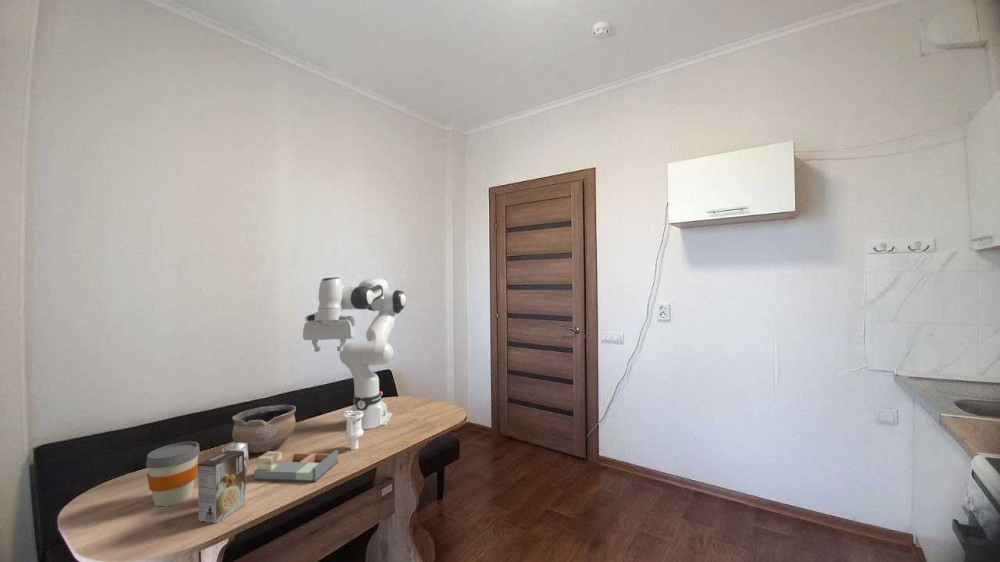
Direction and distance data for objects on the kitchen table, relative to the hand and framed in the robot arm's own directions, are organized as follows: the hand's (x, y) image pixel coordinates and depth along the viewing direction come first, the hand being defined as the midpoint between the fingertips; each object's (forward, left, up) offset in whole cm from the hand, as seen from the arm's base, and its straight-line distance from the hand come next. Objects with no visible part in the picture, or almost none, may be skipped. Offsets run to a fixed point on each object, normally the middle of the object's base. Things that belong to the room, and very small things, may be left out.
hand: (328, 351), depth 147 cm
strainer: (-3, +9, -40) cm, 41 cm away
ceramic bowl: (-1, -28, -40) cm, 49 cm away
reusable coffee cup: (+35, -30, -40) cm, 61 cm away
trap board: (+16, -2, -40) cm, 43 cm away
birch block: (+19, -10, -37) cm, 43 cm away
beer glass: (+32, -12, -40) cm, 53 cm away
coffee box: (+41, -8, -40) cm, 58 cm away
